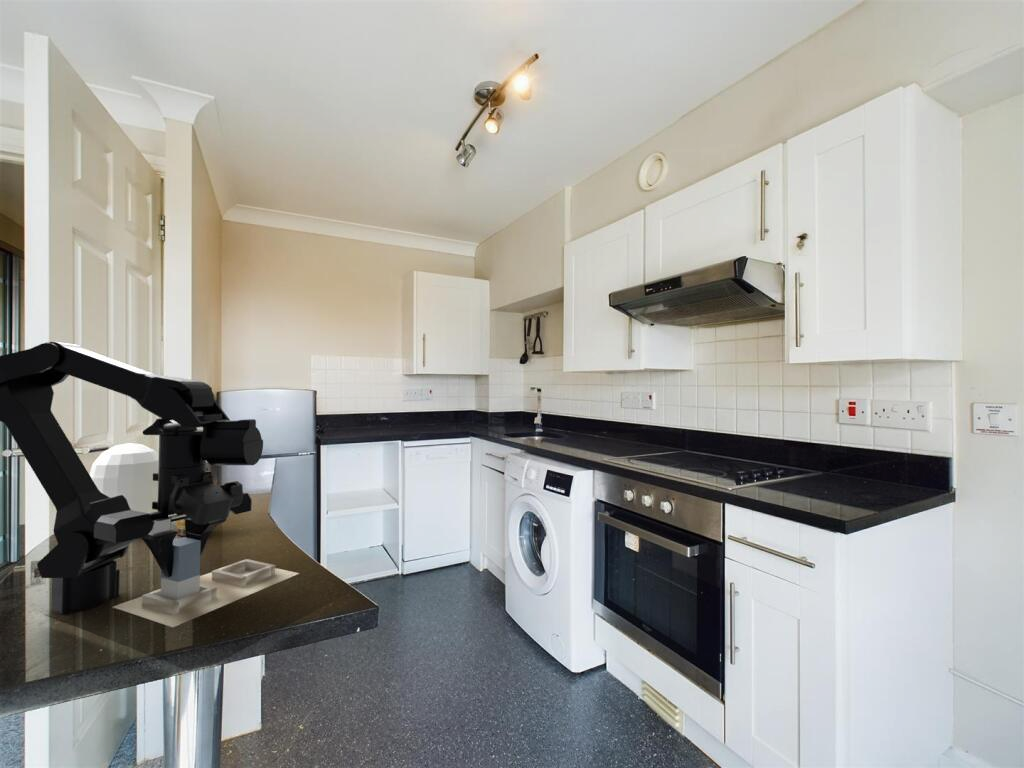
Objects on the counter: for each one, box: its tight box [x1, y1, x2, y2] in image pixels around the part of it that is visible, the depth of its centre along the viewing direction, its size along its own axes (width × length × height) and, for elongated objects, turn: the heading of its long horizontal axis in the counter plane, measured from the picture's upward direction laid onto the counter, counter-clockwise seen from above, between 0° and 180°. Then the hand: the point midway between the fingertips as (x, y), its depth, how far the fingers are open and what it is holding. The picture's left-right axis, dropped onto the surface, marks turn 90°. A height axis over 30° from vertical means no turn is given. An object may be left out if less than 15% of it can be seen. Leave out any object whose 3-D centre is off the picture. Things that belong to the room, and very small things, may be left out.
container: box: [89, 442, 159, 513], centre depth 106 cm, size 14×13×20 cm
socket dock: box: [112, 558, 300, 628], centre depth 72 cm, size 20×14×2 cm
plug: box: [160, 536, 201, 601], centre depth 68 cm, size 3×4×8 cm
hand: (180, 572), depth 68 cm, fingers closed on plug, 3 cm apart
